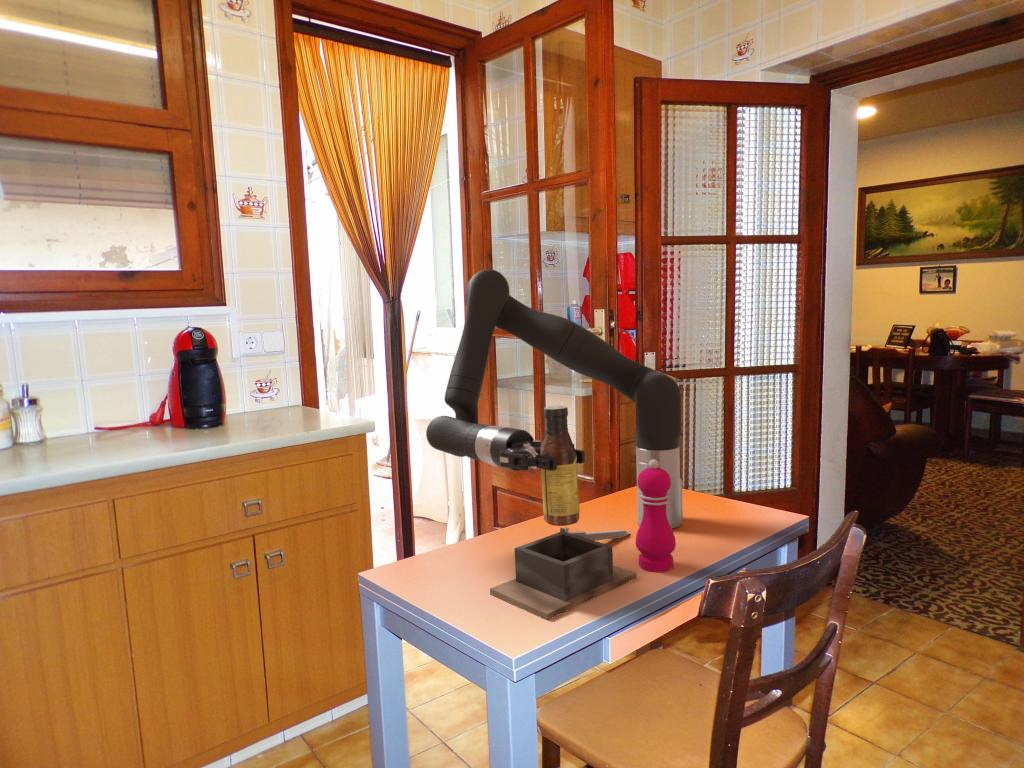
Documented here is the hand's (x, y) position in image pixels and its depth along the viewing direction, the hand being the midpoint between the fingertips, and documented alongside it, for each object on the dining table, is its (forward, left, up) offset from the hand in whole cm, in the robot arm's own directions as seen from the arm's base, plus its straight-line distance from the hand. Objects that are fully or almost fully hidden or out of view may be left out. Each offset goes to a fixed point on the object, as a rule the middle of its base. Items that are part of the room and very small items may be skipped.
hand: (569, 460), depth 113 cm
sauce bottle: (0, -2, -11) cm, 11 cm away
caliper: (-18, -11, -23) cm, 32 cm away
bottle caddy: (0, -2, -23) cm, 23 cm away
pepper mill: (-18, +4, -23) cm, 29 cm away
